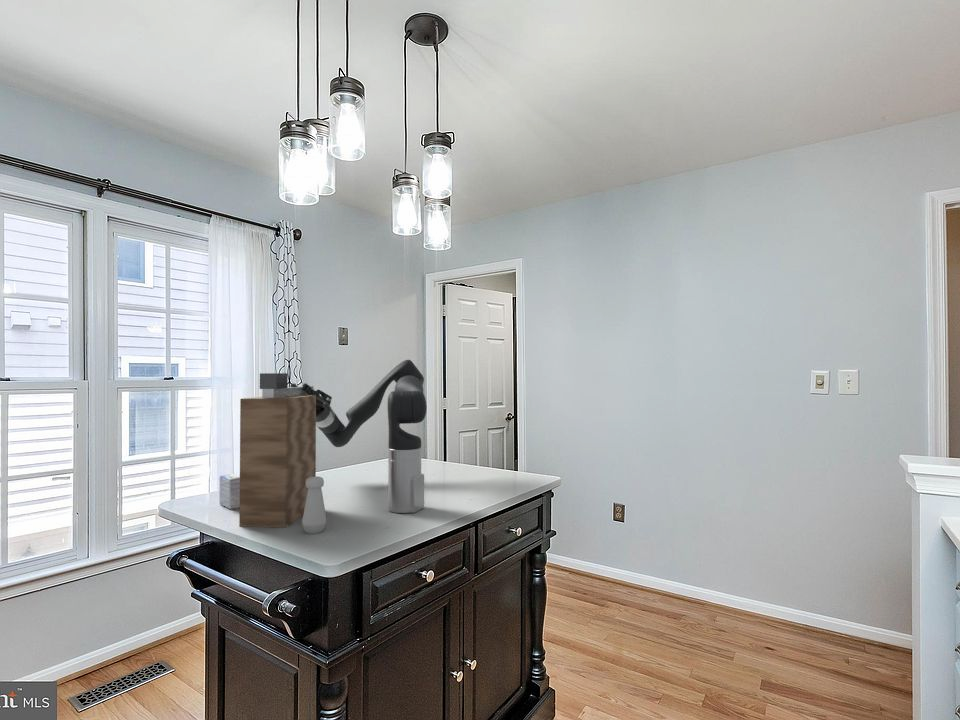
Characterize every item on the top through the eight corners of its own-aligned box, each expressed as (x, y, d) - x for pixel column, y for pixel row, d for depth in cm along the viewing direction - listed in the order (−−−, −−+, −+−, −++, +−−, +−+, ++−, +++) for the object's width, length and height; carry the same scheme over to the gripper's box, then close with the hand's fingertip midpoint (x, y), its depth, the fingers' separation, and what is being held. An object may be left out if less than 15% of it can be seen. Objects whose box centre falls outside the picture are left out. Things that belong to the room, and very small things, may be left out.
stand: (275, 507, 146) (275, 395, 147) (315, 508, 145) (315, 395, 146) (239, 526, 128) (240, 398, 129) (284, 527, 127) (285, 398, 128)
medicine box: (245, 506, 147) (246, 476, 147) (229, 510, 143) (229, 479, 144) (234, 502, 152) (234, 473, 152) (218, 505, 149) (219, 475, 149)
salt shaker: (312, 536, 120) (312, 480, 120) (296, 532, 123) (296, 478, 123) (331, 529, 125) (332, 476, 125) (316, 526, 128) (316, 474, 128)
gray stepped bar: (301, 394, 155) (301, 373, 155) (315, 394, 154) (315, 373, 154) (259, 398, 131) (259, 373, 131) (276, 398, 130) (276, 373, 131)
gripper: (301, 401, 165) (278, 374, 150) (342, 401, 164) (324, 374, 149) (295, 422, 161) (271, 397, 146) (338, 422, 160) (318, 397, 145)
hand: (298, 386), depth 148 cm, fingers closed on gray stepped bar, 3 cm apart
